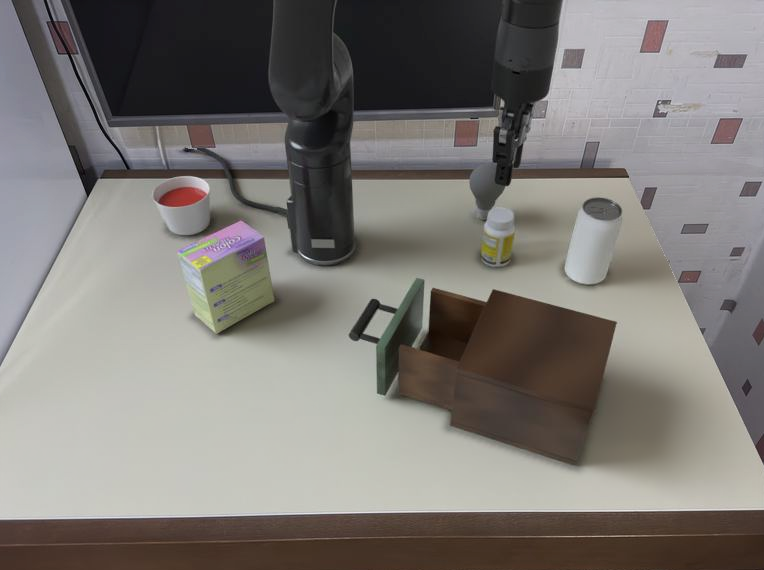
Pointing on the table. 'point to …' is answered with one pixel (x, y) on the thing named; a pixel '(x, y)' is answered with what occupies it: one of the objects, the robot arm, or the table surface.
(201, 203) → the candle
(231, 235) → the box
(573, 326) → the cabinet
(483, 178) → the light bulb
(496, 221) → the supplement bottle
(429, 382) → the drawer
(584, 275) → the can
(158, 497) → the table surface
